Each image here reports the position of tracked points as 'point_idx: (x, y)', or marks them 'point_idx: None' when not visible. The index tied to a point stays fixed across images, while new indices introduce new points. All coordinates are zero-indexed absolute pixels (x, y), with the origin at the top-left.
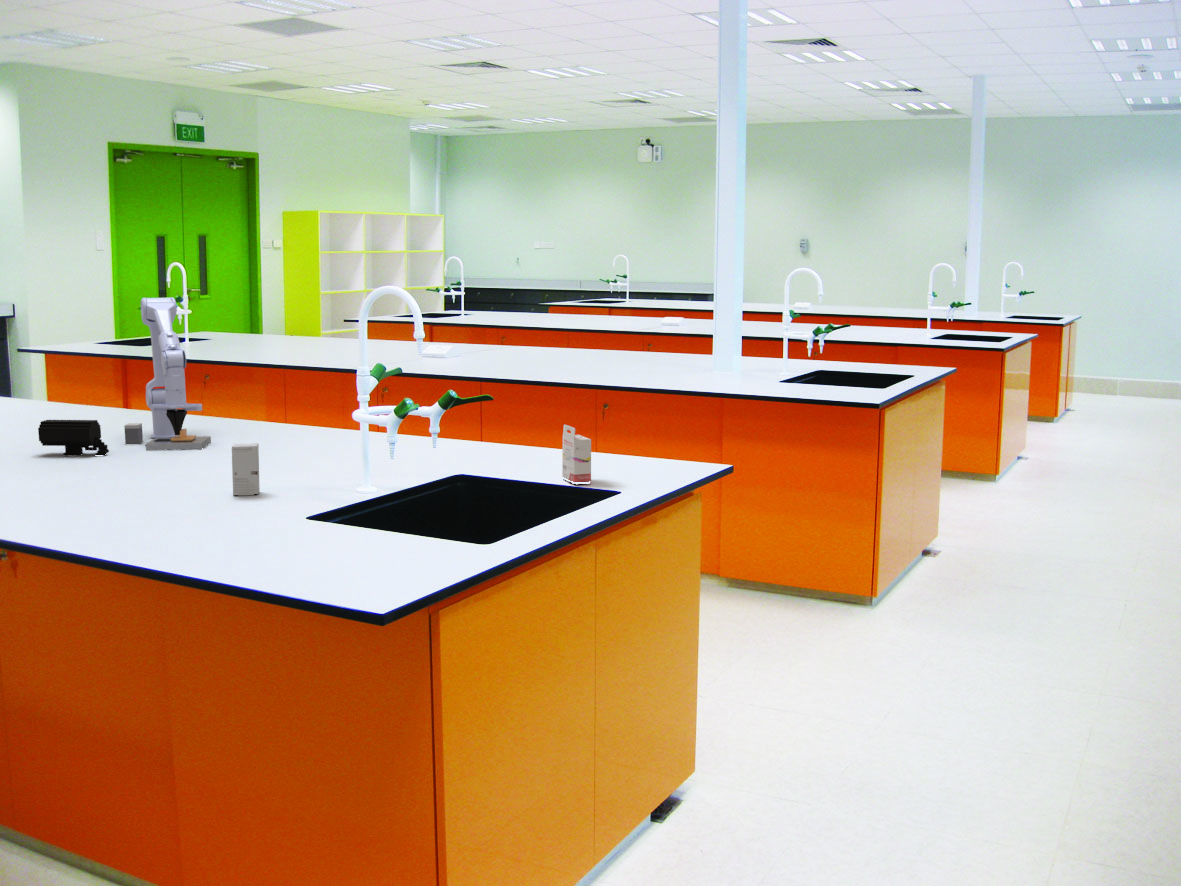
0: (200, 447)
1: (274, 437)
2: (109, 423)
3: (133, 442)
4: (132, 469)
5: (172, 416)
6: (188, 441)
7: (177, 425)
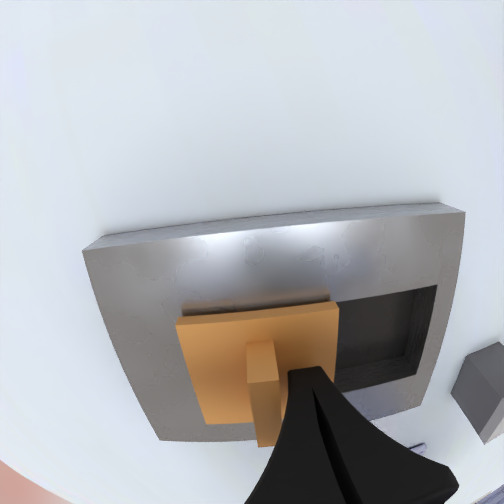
0: (104, 238)
1: (41, 446)
2: (460, 488)
3: (485, 354)
4: None
5: (379, 482)
6: (201, 308)
7: (308, 421)
